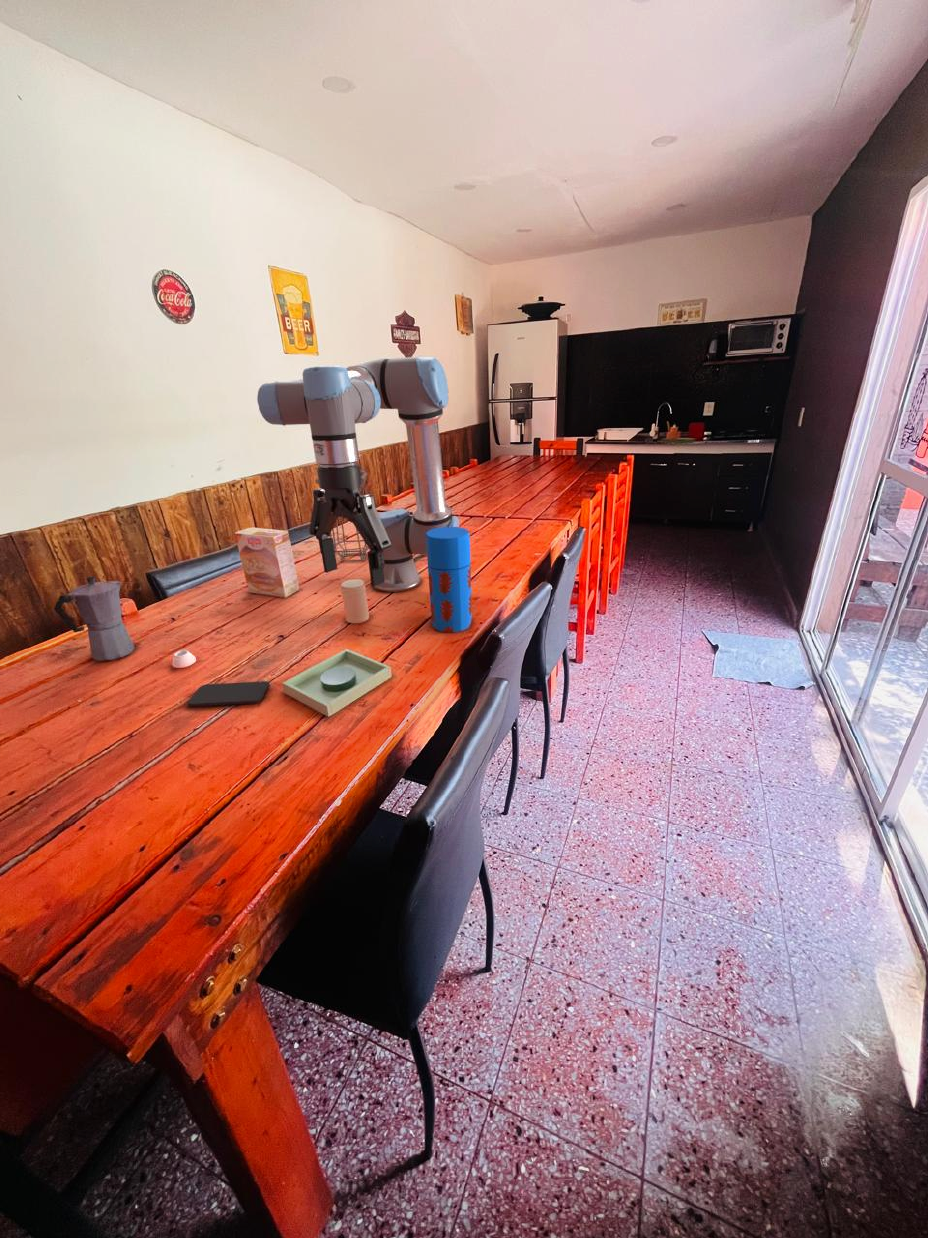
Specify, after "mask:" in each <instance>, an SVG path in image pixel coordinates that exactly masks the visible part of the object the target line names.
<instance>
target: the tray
mask: <svg viewBox="0 0 928 1238" xmlns="http://www.w3.org/2000/svg"><path fill="white" fill-rule="evenodd" d="M335 667H350V668H352V669H353V670H354V671H355V675H356V683H355V684H354V685H353V686H352V687H351V688H349V689H347V690H344V691H340V692H329V691H326V690H324V689H323V688H322V685H321V680H320V677H321V675H322V674H323V673H324V672H325V671H327V670H329V669H331V668H335ZM392 677H393V676H392V667H391V666H390V665H387V664H385V663H383V662H381V661H378V660H375V659H373V658H370V657H368V656H366V655H363V654H361V653H358V652H356V651H354V650H351V649H349V648H345V649H344V650H341V651H339V652H337V653H336V654H334V655H331V656H330V657H328V658H326V659H324V660H322V661H320V662H319V663H316V664H314V665H313V666H311V667H310V668H307V669H305V670H303V671H301V672H300V673H298V674H296V675H294V676H292V677H290V678H288V679H287V680H285V681H283V682H281V684H282V685H281V686H282V688H283V693H284V694H285V695H286V696H287V695H288V696H289V697H291V698H292V699H294V700H296V701H298V702H300V703H301V704H303V705H306V706H307V707H310V708H311V709H313V710H315V711H317V712H318V713H320V714H322V715H324V716H326V717H327V718H328V717H329V718H330V717H331V716H333V715H334V714H335V713H337V712H339V711H341V710H342V709H344V708H345V707H347V706H349V705H350V704H351V703H353V702H354V701H356V700H357V699H358V700H359V698H361V697H362V696H364V695H366V694H367V693H368V692H370V691H372V690H374V688H377V687H378V686H380V685H382V683H384V682H386V681H388V680H389V679H391V678H392Z"/></svg>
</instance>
